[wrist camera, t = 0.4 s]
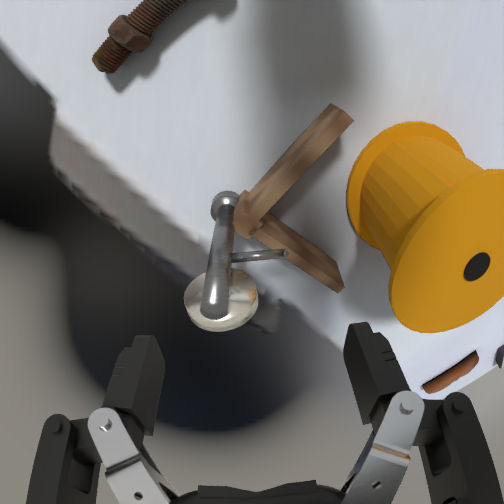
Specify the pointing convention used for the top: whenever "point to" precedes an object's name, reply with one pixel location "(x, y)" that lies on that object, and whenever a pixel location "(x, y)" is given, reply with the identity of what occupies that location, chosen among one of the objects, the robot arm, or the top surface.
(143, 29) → the bolt
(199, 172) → the top surface
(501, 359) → the dark grey box
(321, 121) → the wooden v-shaped bracket
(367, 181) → the spool
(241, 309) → the metal faucet
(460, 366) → the sunglasses case
